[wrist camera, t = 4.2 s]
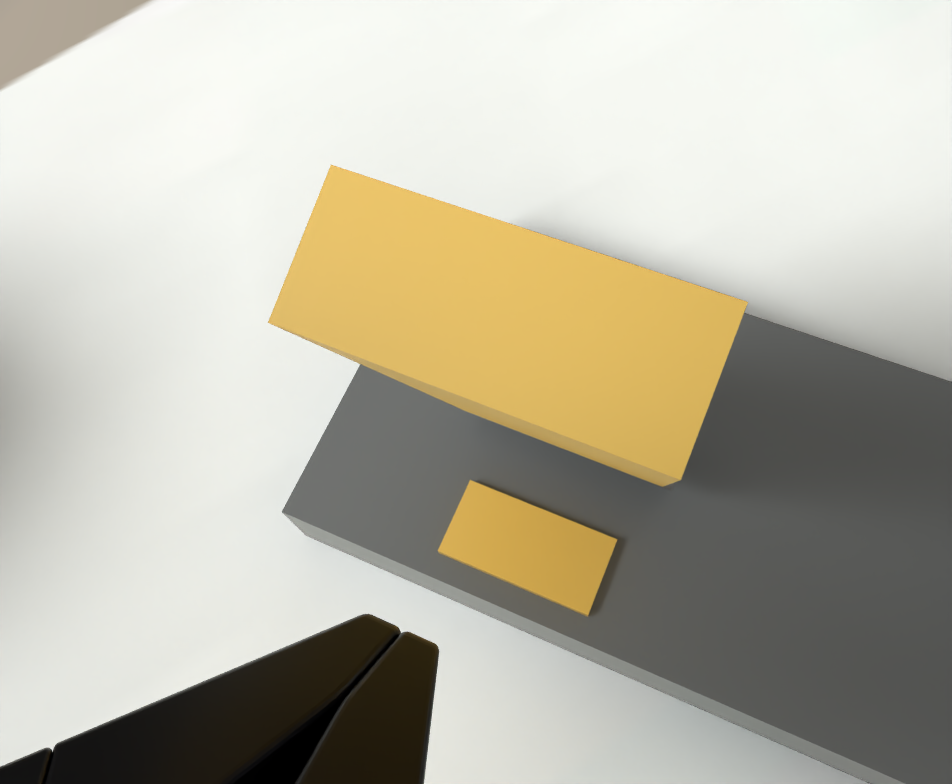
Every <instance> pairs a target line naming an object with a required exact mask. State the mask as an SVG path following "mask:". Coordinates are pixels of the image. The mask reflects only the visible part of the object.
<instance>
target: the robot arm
mask: <svg viewBox="0 0 952 784" xmlns="http://www.w3.org/2000/svg"><path fill="white" fill-rule="evenodd" d="M438 657H439V649H438V646H437V645H436V644H435V643H432V642H430V641H428V640H426V639H424V638H421V637H419V636H417V635H415V634H413V633H410V632H403V633H401V632H400V630H399V628H398V627H397V626H395V625H393V624H391V623H388V622H386V621H384V620H382V619H380V618H377V617H375V616H373V615H370V614H363V615H360V616H357V617H355V618H353V619H350V620H348V621H346V622H343V623H341V624H339V625H336V626H334V627H331V628H329V629H327V630H324V631H322V632H320V633H317V634H315V635H312V636H310V637H308V638H305V639H303V640H301V641H298V642H296V643H294V644H291V645H289V646H286V647H284V648H282V649H279V650H277V651H275V652H272V653H270V654H267V655H265V656H263V657H260V658H258V659H256V660H253V661H251V662H248V663H246V664H244V665H241V666H239V667H237V668H234V669H232V670H230V671H227V672H225V673H222V674H220V675H218V676H215V677H213V678H211V679H208V680H206V681H203V682H201V683H199V684H196V685H194V686H192V687H189V688H187V689H185V690H182V691H180V692H177V693H175V694H173V695H170V696H168V697H166V698H163V699H161V700H158V701H156V702H154V703H151V704H149V705H147V706H144V707H142V708H140V709H137V710H135V711H132V712H130V713H128V714H125V715H123V716H121V717H118V718H116V719H113V720H111V721H109V722H106V723H104V724H102V725H99V726H97V727H94V728H92V729H90V730H87V731H85V732H83V733H80V734H78V735H76V736H73V737H71V738H68V739H66V740H64V741H61V742H59V743H57V744H56V745H55V747H54V749H53V752H52V750H51V749H50V748H44V749H42V750H39V751H37V752H34V753H32V754H30V755H27V756H25V757H23V758H20V759H18V760H15V761H13V762H11V763H8V764H6V765H3V766H1V767H0V784H424V778H425V769H426V760H427V752H428V743H429V735H430V726H431V717H432V709H433V700H434V691H435V683H436V674H437V666H438Z"/></svg>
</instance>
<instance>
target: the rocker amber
mask: <svg viewBox="0 0 952 784" xmlns="http://www.w3.org/2000/svg"><path fill="white" fill-rule="evenodd" d="M747 303H748V302H746V301H743V300H740V299H737V298H734V297H731V296H728V295H725V294H722V293H719V292H716V291H713V290H710V289H707V288H704V287H701V286H698V285H695V284H692V283H689V282H686V281H683V280H679V279H676V278H673V277H670V276H667V275H664V274H661V273H658V272H655V271H652V270H649V269H646V268H643V267H640V266H637V265H634V264H631V263H628V262H625V261H622V260H619V259H616V258H613V257H610V256H607V255H604V254H601V253H598V252H594V251H591V250H588V249H585V248H582V247H579V246H576V245H573V244H570V243H567V242H564V241H561V240H558V239H555V238H552V237H549V236H546V235H543V234H540V233H537V232H534V231H531V230H528V229H525V228H522V227H519V226H516V225H512V224H509V223H506V222H503V221H500V220H497V219H494V218H491V217H488V216H485V215H482V214H479V213H476V212H473V211H470V210H467V209H464V208H461V207H458V206H455V205H452V204H449V203H446V202H443V201H440V200H437V199H434V198H431V197H427V196H424V195H421V194H418V193H415V192H412V191H409V190H406V189H403V188H400V187H397V186H394V185H391V184H388V183H385V182H382V181H379V180H376V179H373V178H370V177H367V176H364V175H361V174H358V173H355V172H352V171H349V170H345V169H342V168H339V167H336V166H333V165H331V166H330V169H329V171H328V174H327V176H326V179H325V181H324V184H323V186H322V189H321V191H320V194H319V196H318V199H317V201H316V204H315V206H314V209H313V211H312V214H311V216H310V219H309V221H308V224H307V226H306V229H305V231H304V234H303V236H302V239H301V241H300V244H299V246H298V249H297V251H296V254H295V256H294V259H293V261H292V264H291V266H290V269H289V271H288V274H287V276H286V279H285V281H284V284H283V286H282V289H281V291H280V294H279V296H278V299H277V301H276V304H275V306H274V309H273V311H272V314H271V316H270V319H269V321H268V323H270V324H272V325H274V326H277V327H279V328H281V329H283V330H286V331H288V332H290V333H292V334H295V335H297V336H299V337H301V338H303V339H306V340H308V341H310V342H312V343H315V344H317V345H319V346H321V347H324V348H326V349H328V350H330V351H332V352H335V353H337V354H339V355H341V356H344V357H346V358H348V359H350V360H353V361H355V362H357V363H359V364H362V365H364V366H366V367H368V368H370V369H373V370H375V371H377V372H379V373H382V374H384V375H386V376H388V377H391V378H393V379H395V380H397V381H399V382H402V383H404V384H406V385H408V386H411V387H413V388H415V389H417V390H420V391H422V392H424V393H426V394H428V395H431V396H433V397H435V398H437V399H440V400H442V401H444V402H446V403H449V404H451V405H453V406H455V407H457V408H460V409H462V410H463V411H465V412H468V413H471V414H473V415H476V416H478V417H481V418H484V419H486V420H489V421H491V422H494V423H496V424H499V425H502V426H504V427H507V428H509V429H512V430H515V431H517V432H520V433H522V434H525V435H528V436H530V437H533V438H535V439H538V440H541V441H543V442H546V443H548V444H551V445H554V446H556V447H559V448H561V449H564V450H567V451H569V452H572V453H574V454H577V455H579V456H582V457H585V458H587V459H590V460H592V461H595V462H598V463H600V464H603V465H605V466H608V467H611V468H613V469H616V470H618V471H621V472H624V473H626V474H629V475H631V476H634V477H637V478H639V479H642V480H644V481H647V482H650V483H652V484H655V485H657V486H660V487H662V488H665V489H668V490H670V491H672V489H673V487H674V485H675V482H677V481H680V480H681V478H682V475H683V473H684V470H685V468H686V465H687V462H688V460H689V457H690V454H691V452H692V449H693V446H694V444H695V441H696V438H697V436H698V433H699V430H700V428H701V425H702V423H703V420H704V417H705V415H706V412H707V409H708V407H709V404H710V401H711V399H712V396H713V393H714V391H715V388H716V385H717V383H718V380H719V378H720V375H721V372H722V370H723V367H724V364H725V362H726V359H727V356H728V354H729V351H730V348H731V346H732V343H733V340H734V338H735V335H736V333H737V330H738V327H739V325H740V322H741V319H742V317H743V314H744V311H745V309H746V306H747Z"/></svg>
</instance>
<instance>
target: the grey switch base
mask: <svg viewBox="0 0 952 784" xmlns="http://www.w3.org/2000/svg"><path fill="white" fill-rule="evenodd" d="M282 513H283V514H284V515H285V516H286V517H287V518H289V519H290V520H291V521H292V522H293V523H294V524H295V525H296V526H297V527H298V528H299V529H300V530H301V531H302V532H303V533H304V534H305V535H306V536H308V537H311V538H313V539H315V540H318V541H320V542H322V543H324V544H327V545H329V546H331V547H334V548H336V549H338V550H340V551H343V552H345V553H347V554H349V555H352V556H354V557H356V558H359V559H361V560H363V561H365V562H368V563H370V564H372V565H374V566H377V567H379V568H381V569H384V570H386V571H388V572H390V573H393V574H395V575H397V576H400V577H402V578H404V579H406V580H409V581H411V582H413V583H415V584H418V585H420V586H422V587H425V588H427V589H429V590H431V591H434V592H436V593H438V594H440V595H443V596H445V597H447V598H450V599H452V600H454V601H456V602H459V603H461V604H463V605H465V606H468V607H470V608H472V609H475V610H477V611H479V612H481V613H484V614H486V615H488V616H491V617H493V618H495V619H497V620H500V621H502V622H504V623H506V624H509V625H511V626H513V627H516V628H518V629H520V630H522V631H525V632H527V633H529V634H531V635H534V636H536V637H538V638H541V639H543V640H545V641H547V642H550V643H552V644H554V645H557V646H559V647H561V648H563V649H566V650H568V651H570V652H572V653H575V654H577V655H579V656H582V657H584V658H586V659H588V660H591V661H593V662H595V663H597V664H600V665H602V666H604V667H607V668H609V669H611V670H613V671H616V672H618V673H620V674H622V675H625V676H627V677H629V678H632V679H634V680H636V681H638V682H641V683H643V684H645V685H648V686H650V687H652V688H654V689H657V690H659V691H661V692H663V693H666V694H668V695H670V696H673V697H675V698H677V699H679V700H682V701H684V702H686V703H688V704H691V705H693V706H695V707H698V708H700V709H702V710H704V711H707V712H709V713H711V714H714V715H716V716H718V717H720V718H723V719H725V720H727V721H729V722H732V723H734V724H736V725H739V726H741V727H743V728H745V729H748V730H750V731H752V732H754V733H757V734H759V735H761V736H764V737H766V738H768V739H770V740H773V741H775V742H777V743H779V744H782V745H784V746H786V747H789V748H791V749H793V750H795V751H798V752H800V753H802V754H805V755H807V756H809V757H811V758H814V759H816V760H818V761H820V762H823V763H825V764H827V765H830V766H832V767H834V768H836V769H839V770H841V771H843V772H845V773H848V774H850V775H852V776H855V777H857V778H859V779H861V780H864V781H866V782H868V783H871V784H952V382H950V381H947V380H944V379H941V378H938V377H935V376H932V375H929V374H926V373H923V372H920V371H917V370H914V369H911V368H908V367H905V366H902V365H899V364H896V363H893V362H890V361H887V360H884V359H881V358H878V357H875V356H872V355H869V354H866V353H863V352H860V351H857V350H854V349H851V348H848V347H845V346H842V345H839V344H836V343H833V342H830V341H827V340H824V339H821V338H818V337H815V336H812V335H809V334H806V333H803V332H800V331H797V330H794V329H791V328H788V327H785V326H782V325H779V324H776V323H773V322H770V321H767V320H764V319H761V318H758V317H755V316H752V315H749V314H746V313H744V314H743V317H742V319H741V322H740V325H739V327H738V330H737V333H736V335H735V338H734V340H733V343H732V346H731V348H730V351H729V354H728V356H727V359H726V362H725V364H724V367H723V370H722V372H721V375H720V378H719V380H718V383H717V385H716V388H715V391H714V393H713V396H712V399H711V401H710V404H709V407H708V409H707V412H706V415H705V417H704V420H703V423H702V425H701V428H700V430H699V433H698V436H697V438H696V441H695V444H694V446H693V449H692V452H691V454H690V457H689V460H688V462H687V465H686V468H685V470H684V473H683V475H682V478H681V480H680V481H677V482H675V485H674V487H673V489H672V491H670V490H668V489H665V488H662V487H660V486H657V485H655V484H652V483H650V482H647V481H644V480H642V479H639V478H637V477H634V476H631V475H629V474H626V473H624V472H621V471H618V470H616V469H613V468H611V467H608V466H605V465H603V464H600V463H598V462H595V461H592V460H590V459H587V458H585V457H582V456H579V455H577V454H574V453H572V452H569V451H567V450H564V449H561V448H559V447H556V446H554V445H551V444H548V443H546V442H543V441H541V440H538V439H535V438H533V437H530V436H528V435H525V434H522V433H520V432H517V431H515V430H512V429H509V428H507V427H504V426H502V425H499V424H496V423H494V422H491V421H489V420H486V419H484V418H481V417H478V416H476V415H473V414H471V413H468V412H465V411H463V410H462V409H460V408H457V407H455V406H453V405H451V404H449V403H446V402H444V401H442V400H440V399H437V398H435V397H433V396H431V395H428V394H426V393H424V392H422V391H420V390H417V389H415V388H413V387H411V386H408V385H406V384H404V383H402V382H399V381H397V380H395V379H393V378H391V377H388V376H386V375H384V374H382V373H379V372H377V371H375V370H373V369H370V368H368V367H366V366H364V365H362V364H360V366H359V368H358V370H357V372H356V374H355V376H354V377H353V379H352V381H351V383H350V385H349V387H348V389H347V391H346V392H345V394H344V396H343V398H342V400H341V402H340V404H339V406H338V407H337V409H336V411H335V413H334V415H333V417H332V419H331V421H330V422H329V424H328V426H327V428H326V430H325V432H324V434H323V436H322V437H321V439H320V441H319V443H318V445H317V447H316V449H315V451H314V452H313V454H312V456H311V458H310V460H309V462H308V464H307V466H306V467H305V469H304V471H303V473H302V475H301V477H300V479H299V481H298V482H297V484H296V486H295V488H294V490H293V492H292V494H291V496H290V497H289V499H288V501H287V503H286V505H285V507H284V509H283V511H282Z"/></svg>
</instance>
